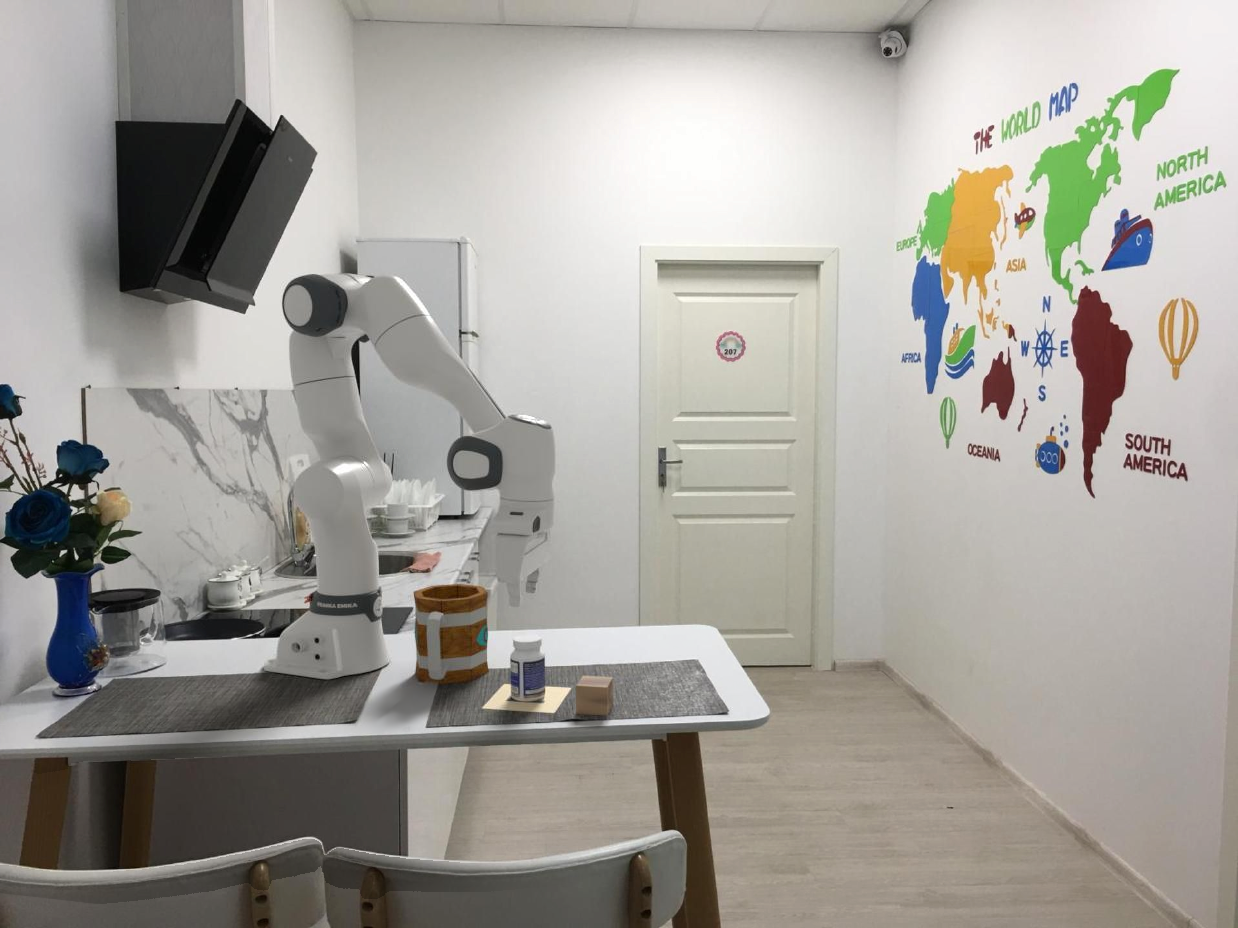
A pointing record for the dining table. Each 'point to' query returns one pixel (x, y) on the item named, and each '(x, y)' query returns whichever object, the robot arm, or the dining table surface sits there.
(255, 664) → the dining table surface
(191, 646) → the dining table surface
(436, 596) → the mug
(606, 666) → the dining table surface
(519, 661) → the pill bottle
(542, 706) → the letter card
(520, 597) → the robot arm
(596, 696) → the walnut block
